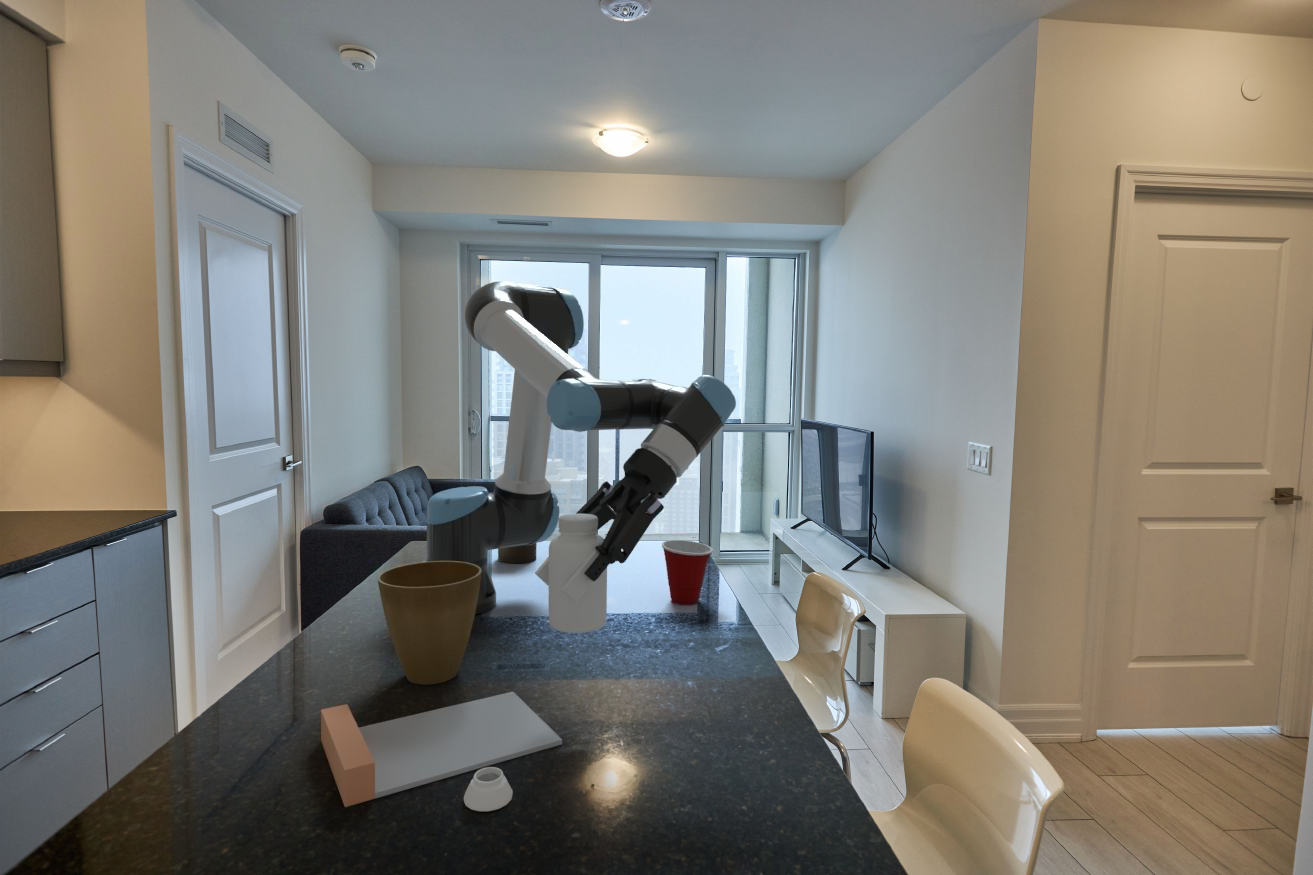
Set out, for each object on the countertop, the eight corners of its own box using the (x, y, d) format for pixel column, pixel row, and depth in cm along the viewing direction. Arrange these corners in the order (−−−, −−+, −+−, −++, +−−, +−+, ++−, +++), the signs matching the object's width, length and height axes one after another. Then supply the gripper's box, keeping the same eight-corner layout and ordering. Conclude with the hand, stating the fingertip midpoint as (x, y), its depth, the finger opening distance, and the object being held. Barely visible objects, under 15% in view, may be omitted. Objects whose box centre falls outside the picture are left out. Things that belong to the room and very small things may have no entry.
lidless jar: (459, 815, 72) (508, 814, 73) (460, 788, 72) (509, 787, 72) (469, 787, 77) (514, 786, 78) (469, 762, 77) (515, 761, 77)
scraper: (321, 740, 86) (320, 709, 86) (512, 695, 100) (513, 668, 100) (344, 806, 73) (344, 770, 73) (562, 744, 87) (562, 712, 86)
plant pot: (451, 649, 117) (451, 555, 116) (499, 676, 106) (500, 573, 105) (361, 673, 106) (361, 570, 105) (405, 706, 96) (404, 592, 95)
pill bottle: (549, 614, 100) (551, 510, 98) (606, 614, 100) (608, 511, 99) (545, 634, 92) (547, 522, 90) (606, 634, 92) (609, 523, 91)
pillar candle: (532, 564, 174) (533, 504, 173) (493, 563, 174) (494, 503, 173) (539, 555, 183) (540, 498, 182) (502, 554, 183) (503, 497, 183)
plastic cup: (708, 611, 140) (709, 552, 139) (655, 606, 142) (656, 548, 141) (714, 595, 151) (716, 540, 150) (665, 591, 153) (666, 537, 152)
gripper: (716, 490, 94) (609, 627, 87) (636, 471, 111) (541, 584, 104) (686, 453, 91) (572, 591, 83) (607, 439, 108) (507, 553, 101)
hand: (555, 587), depth 94 cm, fingers closed on pill bottle, 8 cm apart
